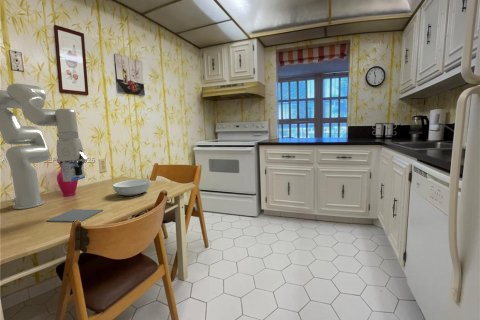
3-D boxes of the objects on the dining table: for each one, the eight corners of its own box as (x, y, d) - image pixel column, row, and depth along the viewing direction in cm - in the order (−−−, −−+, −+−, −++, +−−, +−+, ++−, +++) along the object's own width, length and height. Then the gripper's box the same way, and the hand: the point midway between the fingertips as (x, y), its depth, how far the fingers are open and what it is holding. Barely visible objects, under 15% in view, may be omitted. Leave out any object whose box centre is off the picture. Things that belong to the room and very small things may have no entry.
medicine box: (71, 181, 107) (68, 162, 106) (62, 181, 108) (60, 163, 106) (85, 178, 114) (83, 160, 113) (77, 178, 115) (75, 160, 114)
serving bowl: (155, 188, 154) (154, 178, 153) (144, 197, 133) (143, 186, 132) (122, 190, 152) (121, 179, 151) (106, 199, 132) (105, 187, 131)
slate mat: (46, 221, 101) (46, 220, 101) (73, 210, 115) (73, 209, 115) (80, 222, 99) (80, 221, 99) (103, 210, 113) (103, 209, 113)
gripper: (44, 137, 106) (50, 177, 108) (79, 135, 104) (84, 176, 106) (58, 136, 113) (64, 174, 115) (91, 135, 111) (96, 173, 113)
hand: (73, 174), depth 111 cm, fingers closed on medicine box, 4 cm apart
